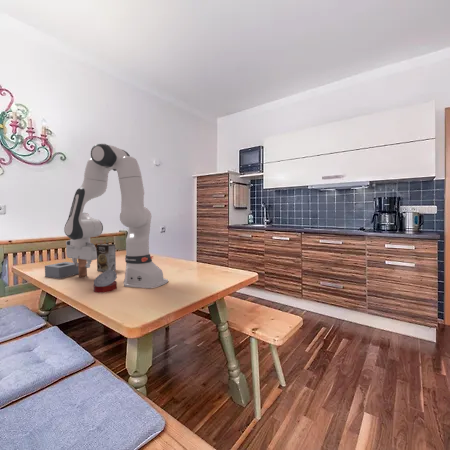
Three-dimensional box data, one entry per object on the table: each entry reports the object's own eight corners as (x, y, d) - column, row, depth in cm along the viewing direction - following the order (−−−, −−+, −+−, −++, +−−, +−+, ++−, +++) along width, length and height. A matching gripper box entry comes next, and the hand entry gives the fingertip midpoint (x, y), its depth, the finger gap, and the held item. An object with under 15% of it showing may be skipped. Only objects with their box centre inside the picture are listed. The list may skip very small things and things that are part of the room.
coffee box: (96, 270, 154) (95, 244, 153) (104, 268, 160) (104, 243, 159) (108, 272, 151) (107, 245, 150) (116, 269, 157) (115, 243, 156)
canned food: (117, 298, 119) (123, 281, 116) (94, 301, 112) (99, 283, 109) (110, 282, 127) (115, 266, 123) (88, 284, 120) (93, 267, 116)
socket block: (79, 273, 147) (79, 263, 147) (59, 278, 136) (58, 267, 136) (66, 271, 152) (65, 261, 152) (45, 276, 141) (44, 265, 141)
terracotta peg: (88, 276, 142) (88, 254, 141) (82, 277, 138) (81, 256, 137) (83, 275, 143) (83, 254, 143) (77, 277, 140) (76, 255, 139)
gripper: (99, 242, 138) (100, 267, 139) (74, 240, 146) (74, 264, 147) (89, 243, 132) (90, 269, 133) (63, 241, 140) (64, 266, 141)
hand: (81, 266), depth 140 cm, fingers open, 8 cm apart
